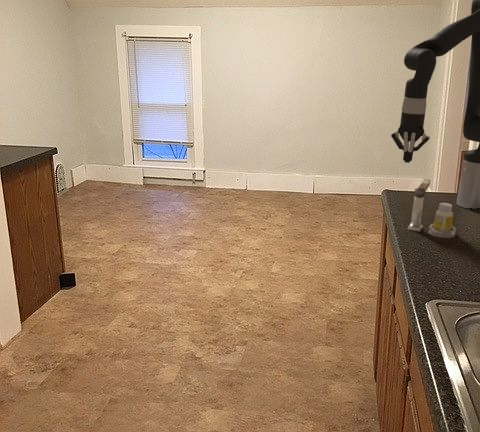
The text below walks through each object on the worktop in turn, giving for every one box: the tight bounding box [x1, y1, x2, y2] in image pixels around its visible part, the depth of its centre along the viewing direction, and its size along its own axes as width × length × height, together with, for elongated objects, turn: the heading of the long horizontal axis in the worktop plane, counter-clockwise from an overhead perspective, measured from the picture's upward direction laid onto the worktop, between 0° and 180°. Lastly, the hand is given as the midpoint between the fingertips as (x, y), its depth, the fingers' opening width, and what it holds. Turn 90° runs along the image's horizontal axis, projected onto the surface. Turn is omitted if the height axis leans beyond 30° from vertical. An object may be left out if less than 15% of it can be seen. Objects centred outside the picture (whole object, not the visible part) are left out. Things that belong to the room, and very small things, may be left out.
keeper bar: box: [413, 178, 431, 198], centre depth 188 cm, size 16×3×2 cm, turn 153°
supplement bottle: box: [433, 202, 454, 231], centre depth 181 cm, size 5×5×10 cm
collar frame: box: [407, 196, 457, 239], centre depth 182 cm, size 8×14×11 cm, turn 63°
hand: (407, 162), depth 192 cm, fingers closed
